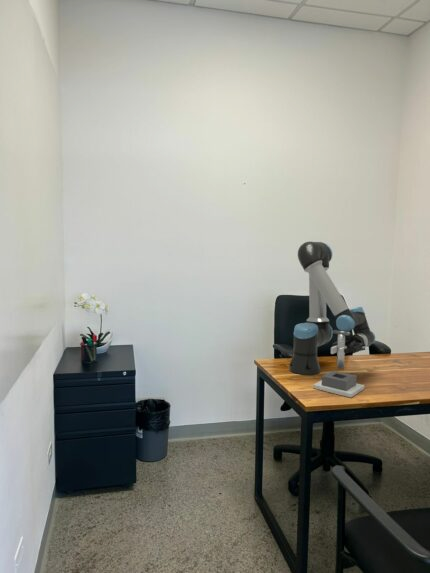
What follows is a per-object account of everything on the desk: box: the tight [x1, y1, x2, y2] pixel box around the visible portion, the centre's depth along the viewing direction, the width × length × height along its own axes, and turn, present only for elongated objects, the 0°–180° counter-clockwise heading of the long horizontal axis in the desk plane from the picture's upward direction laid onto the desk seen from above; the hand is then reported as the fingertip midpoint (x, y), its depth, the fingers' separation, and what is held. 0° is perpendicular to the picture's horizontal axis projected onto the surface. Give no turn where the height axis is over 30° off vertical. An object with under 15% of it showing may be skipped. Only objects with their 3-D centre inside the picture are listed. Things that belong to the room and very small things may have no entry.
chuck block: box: [312, 370, 366, 398], centre depth 176 cm, size 17×15×6 cm
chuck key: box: [333, 329, 351, 370], centre depth 174 cm, size 8×3×16 cm, turn 50°
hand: (335, 351), depth 170 cm, fingers closed on chuck key, 3 cm apart
